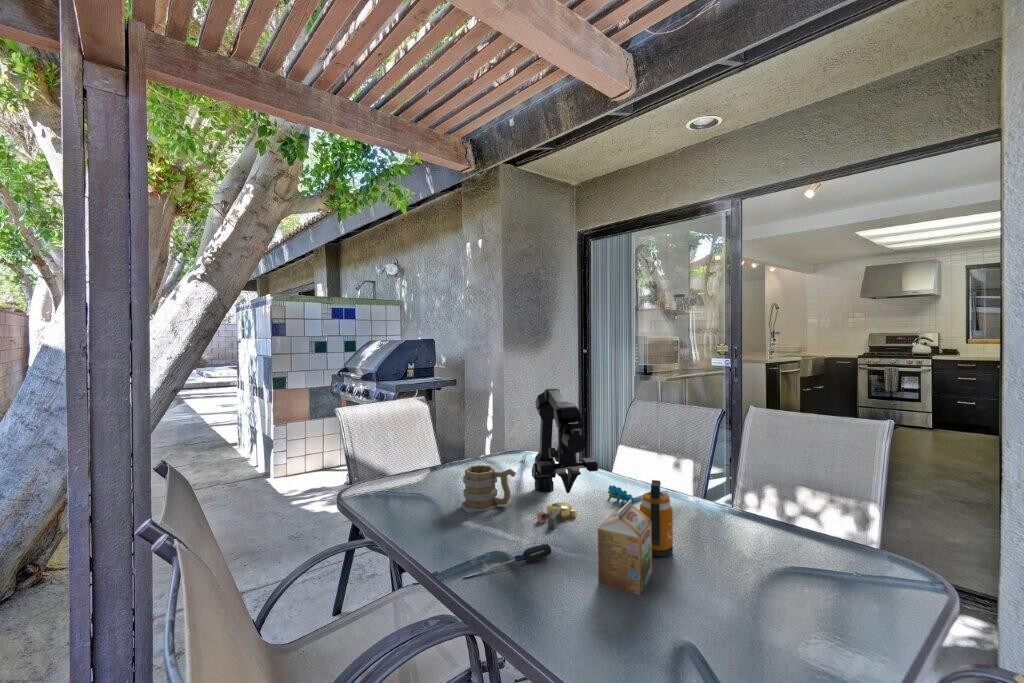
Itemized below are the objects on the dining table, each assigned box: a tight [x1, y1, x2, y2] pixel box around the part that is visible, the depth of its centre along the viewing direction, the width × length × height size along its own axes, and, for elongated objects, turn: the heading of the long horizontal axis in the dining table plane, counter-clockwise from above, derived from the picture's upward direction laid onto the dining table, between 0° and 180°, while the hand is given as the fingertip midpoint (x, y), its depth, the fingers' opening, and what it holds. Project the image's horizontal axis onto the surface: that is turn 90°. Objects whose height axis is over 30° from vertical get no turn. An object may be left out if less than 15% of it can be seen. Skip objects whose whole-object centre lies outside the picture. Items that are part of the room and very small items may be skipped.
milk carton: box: [597, 500, 653, 596], centre depth 120 cm, size 11×11×19 cm
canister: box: [639, 479, 674, 557], centre depth 133 cm, size 9×11×20 cm
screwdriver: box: [483, 543, 552, 570], centre depth 127 cm, size 26×4×4 cm, turn 115°
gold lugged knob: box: [546, 502, 578, 530], centre depth 155 cm, size 16×10×3 cm, turn 157°
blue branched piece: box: [606, 484, 635, 504], centre depth 169 cm, size 11×6×10 cm
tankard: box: [461, 464, 517, 514], centre depth 168 cm, size 20×13×15 cm, turn 68°
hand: (567, 492), depth 150 cm, fingers closed
